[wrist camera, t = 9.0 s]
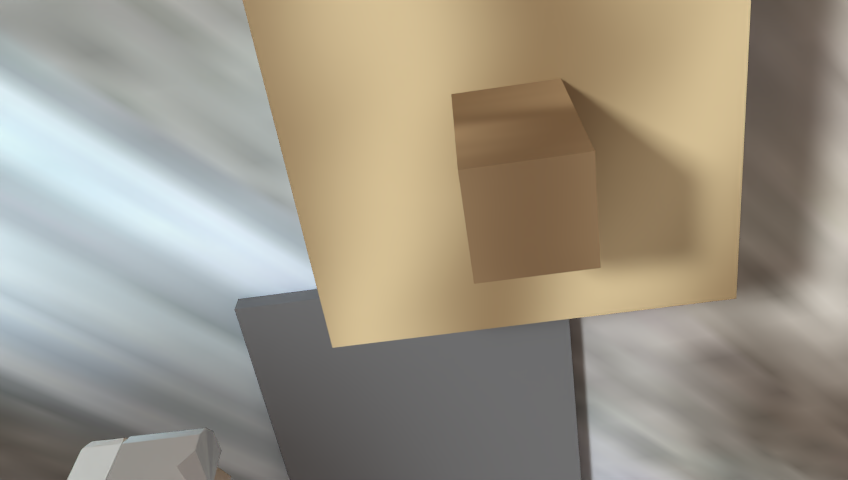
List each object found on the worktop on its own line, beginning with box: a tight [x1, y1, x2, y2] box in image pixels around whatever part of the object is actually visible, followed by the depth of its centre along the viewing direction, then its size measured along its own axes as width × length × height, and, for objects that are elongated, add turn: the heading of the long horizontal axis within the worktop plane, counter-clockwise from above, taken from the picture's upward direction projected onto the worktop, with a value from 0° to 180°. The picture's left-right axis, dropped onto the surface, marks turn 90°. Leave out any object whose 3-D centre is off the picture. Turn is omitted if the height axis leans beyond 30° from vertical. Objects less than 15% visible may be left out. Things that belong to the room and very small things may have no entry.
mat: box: [235, 289, 581, 480], centre depth 29 cm, size 11×11×1 cm
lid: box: [243, 0, 751, 348], centre depth 17 cm, size 10×10×5 cm
